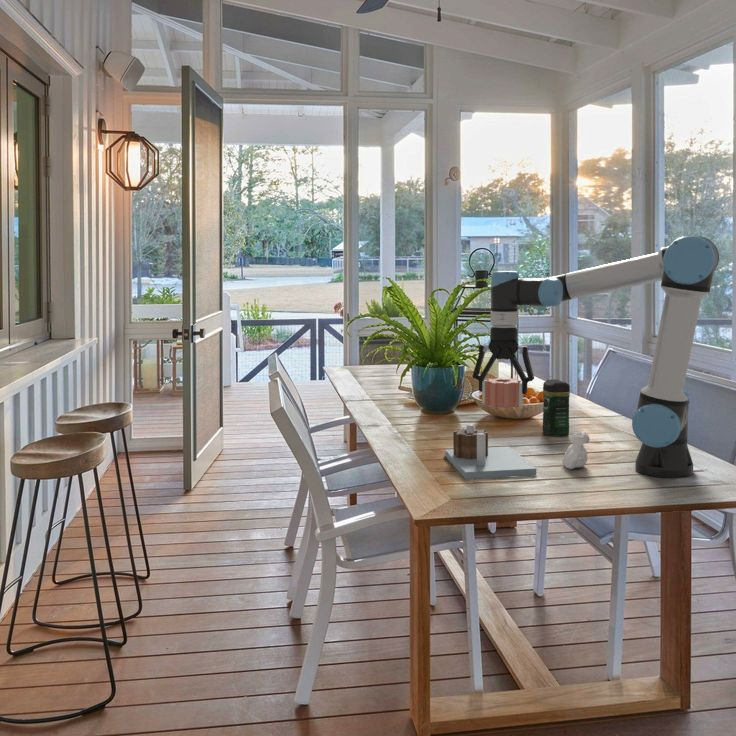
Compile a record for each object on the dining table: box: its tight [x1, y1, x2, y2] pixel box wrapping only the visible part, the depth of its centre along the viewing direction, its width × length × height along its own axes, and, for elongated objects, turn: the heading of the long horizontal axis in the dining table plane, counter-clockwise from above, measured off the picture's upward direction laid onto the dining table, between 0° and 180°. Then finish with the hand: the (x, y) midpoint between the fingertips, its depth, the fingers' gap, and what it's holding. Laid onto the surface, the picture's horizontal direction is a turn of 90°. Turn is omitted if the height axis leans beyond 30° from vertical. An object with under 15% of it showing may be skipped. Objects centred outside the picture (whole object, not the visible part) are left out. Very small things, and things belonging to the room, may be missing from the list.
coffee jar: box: [542, 378, 571, 437], centre depth 267 cm, size 10×8×19 cm
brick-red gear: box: [484, 377, 522, 409], centre depth 225 cm, size 10×10×7 cm
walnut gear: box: [452, 428, 489, 459], centre depth 234 cm, size 10×10×7 cm
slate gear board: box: [444, 424, 537, 480], centre depth 229 cm, size 26×20×11 cm
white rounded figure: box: [561, 430, 591, 470], centre depth 226 cm, size 12×8×11 cm
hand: (502, 404), depth 226 cm, fingers closed on brick-red gear, 10 cm apart
